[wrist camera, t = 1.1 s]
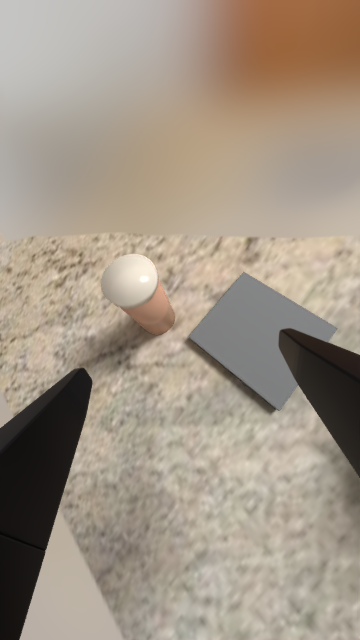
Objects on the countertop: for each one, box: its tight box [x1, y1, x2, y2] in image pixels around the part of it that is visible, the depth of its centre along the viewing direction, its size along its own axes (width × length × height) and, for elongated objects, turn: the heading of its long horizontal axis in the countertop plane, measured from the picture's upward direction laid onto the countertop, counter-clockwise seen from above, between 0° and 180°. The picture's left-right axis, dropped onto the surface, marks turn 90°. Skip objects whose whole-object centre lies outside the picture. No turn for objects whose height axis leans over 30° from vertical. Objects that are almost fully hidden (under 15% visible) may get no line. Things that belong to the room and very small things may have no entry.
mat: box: [189, 272, 338, 411], centre depth 22 cm, size 11×12×1 cm
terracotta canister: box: [101, 254, 175, 334], centre depth 20 cm, size 5×5×10 cm
